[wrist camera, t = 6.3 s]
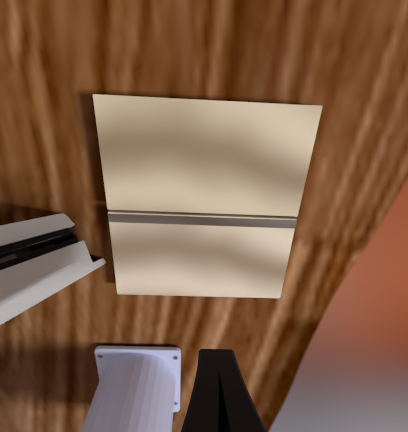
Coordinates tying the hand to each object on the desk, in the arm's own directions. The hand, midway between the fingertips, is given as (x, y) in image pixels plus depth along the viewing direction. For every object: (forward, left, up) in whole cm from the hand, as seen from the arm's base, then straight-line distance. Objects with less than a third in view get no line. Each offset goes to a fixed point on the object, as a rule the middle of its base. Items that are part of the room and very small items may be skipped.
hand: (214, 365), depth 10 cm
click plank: (+7, +1, -10) cm, 12 cm away
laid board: (0, +1, -10) cm, 10 cm away
